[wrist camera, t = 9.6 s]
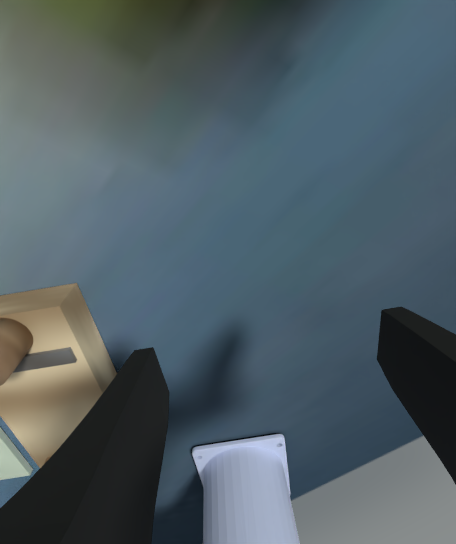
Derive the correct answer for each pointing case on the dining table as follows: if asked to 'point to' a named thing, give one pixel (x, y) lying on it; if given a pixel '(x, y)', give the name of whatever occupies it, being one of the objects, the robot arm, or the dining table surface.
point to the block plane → (49, 366)
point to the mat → (11, 460)
